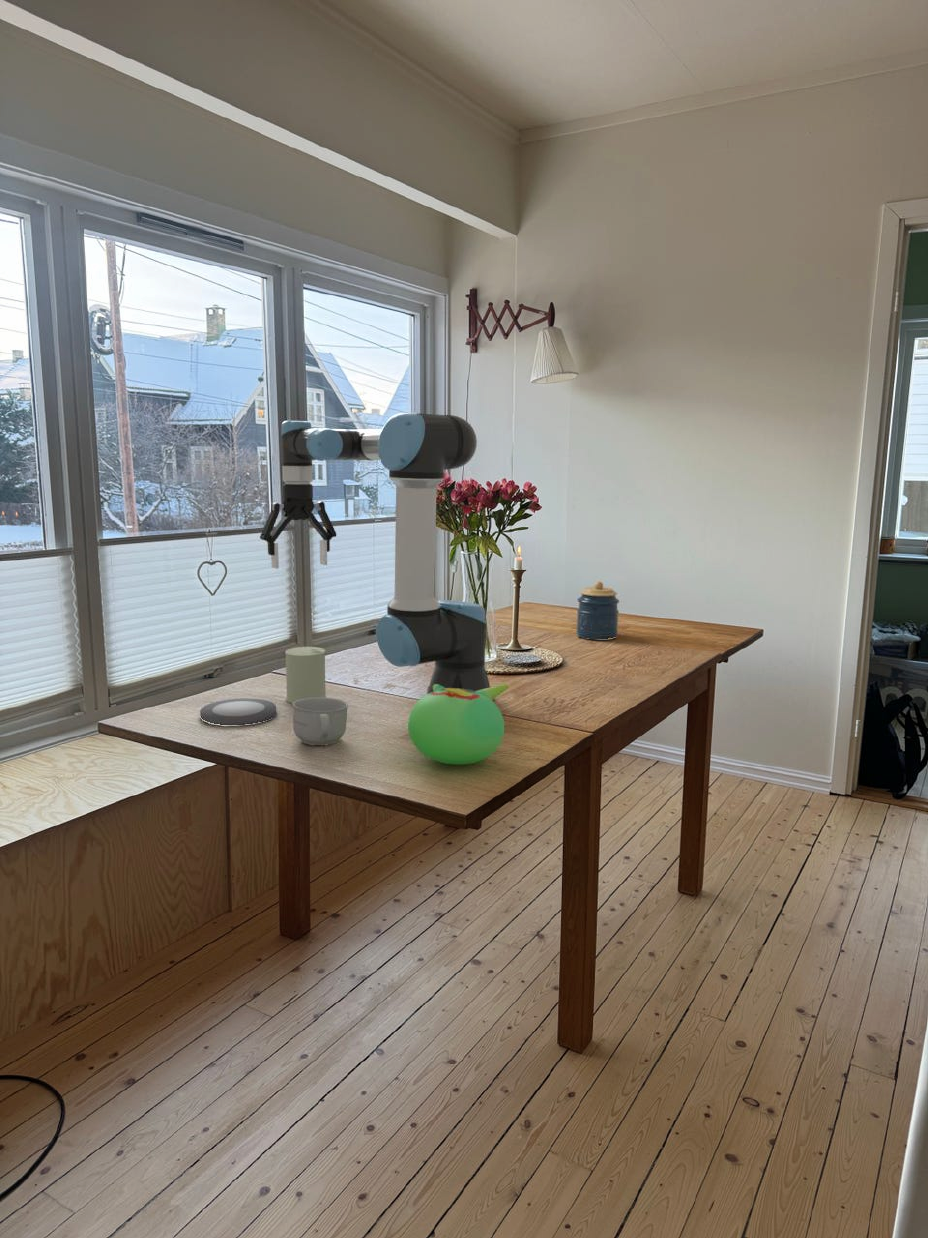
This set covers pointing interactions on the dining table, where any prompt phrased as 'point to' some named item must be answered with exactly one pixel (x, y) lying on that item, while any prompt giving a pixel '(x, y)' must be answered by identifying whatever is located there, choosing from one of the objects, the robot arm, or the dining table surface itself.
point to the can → (305, 673)
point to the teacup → (319, 720)
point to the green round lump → (457, 724)
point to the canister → (597, 613)
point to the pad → (238, 711)
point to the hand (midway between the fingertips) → (299, 566)
